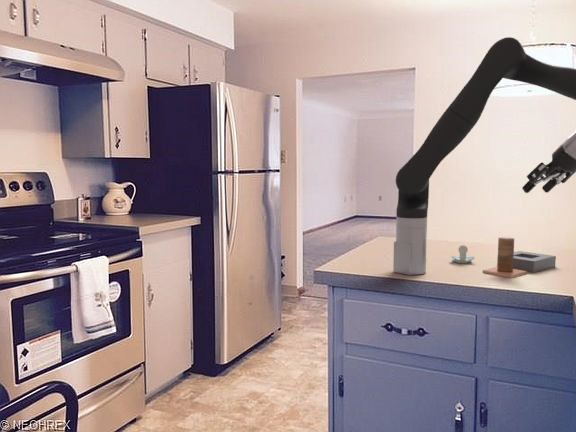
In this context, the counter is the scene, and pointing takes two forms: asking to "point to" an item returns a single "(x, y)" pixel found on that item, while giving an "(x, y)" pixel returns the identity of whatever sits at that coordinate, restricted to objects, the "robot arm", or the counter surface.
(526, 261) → the pocket holder
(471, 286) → the counter surface
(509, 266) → the walnut peg
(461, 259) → the pacifier
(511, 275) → the terracotta tile
